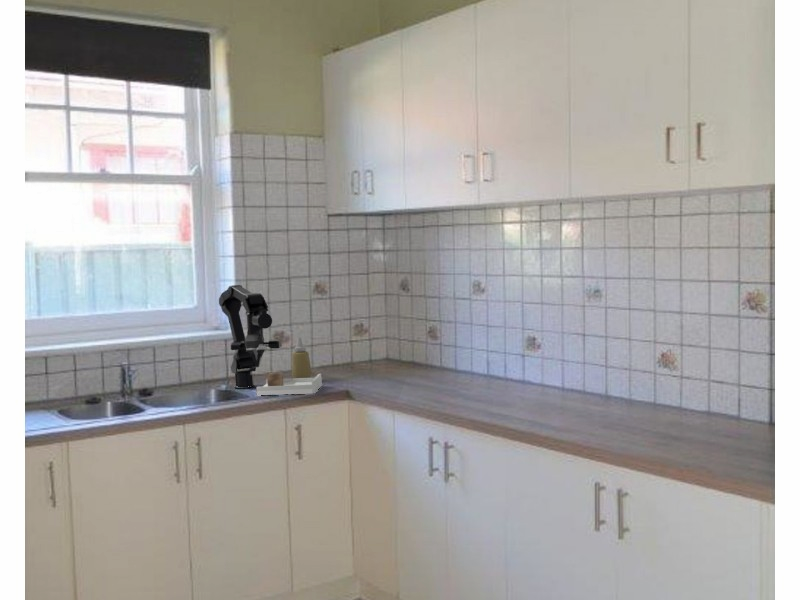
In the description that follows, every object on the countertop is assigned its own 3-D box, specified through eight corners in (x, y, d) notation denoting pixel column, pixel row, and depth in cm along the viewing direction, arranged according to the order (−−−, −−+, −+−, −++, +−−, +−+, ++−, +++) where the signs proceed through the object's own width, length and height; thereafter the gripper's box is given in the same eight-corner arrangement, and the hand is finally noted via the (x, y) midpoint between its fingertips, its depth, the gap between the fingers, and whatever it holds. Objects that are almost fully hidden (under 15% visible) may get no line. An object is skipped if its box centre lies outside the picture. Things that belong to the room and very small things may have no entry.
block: (267, 388, 330) (267, 375, 330) (270, 385, 335) (270, 372, 335) (280, 387, 330) (280, 374, 329) (283, 385, 335) (282, 372, 334)
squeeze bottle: (310, 383, 347) (308, 338, 346) (290, 384, 347) (288, 339, 346) (313, 379, 355) (310, 336, 354) (293, 380, 356) (291, 337, 354)
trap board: (257, 396, 325) (256, 383, 325) (266, 388, 341) (265, 375, 340) (315, 394, 323) (314, 380, 323) (322, 386, 339) (321, 373, 339)
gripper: (225, 330, 324) (228, 371, 325) (274, 328, 322) (277, 369, 324) (233, 326, 335) (235, 366, 336) (280, 324, 333) (283, 364, 335)
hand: (257, 367), depth 332 cm, fingers closed
